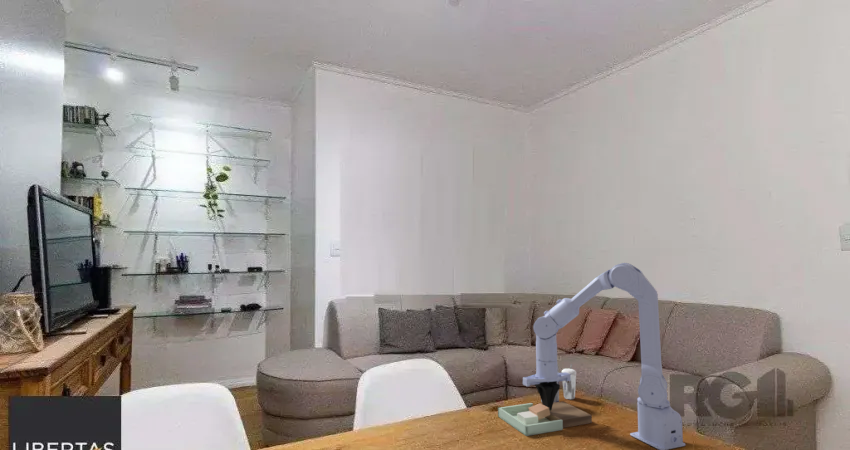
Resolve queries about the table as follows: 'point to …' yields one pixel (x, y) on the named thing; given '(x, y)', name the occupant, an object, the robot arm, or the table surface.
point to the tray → (511, 418)
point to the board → (568, 414)
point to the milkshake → (569, 384)
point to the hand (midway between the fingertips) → (547, 409)
